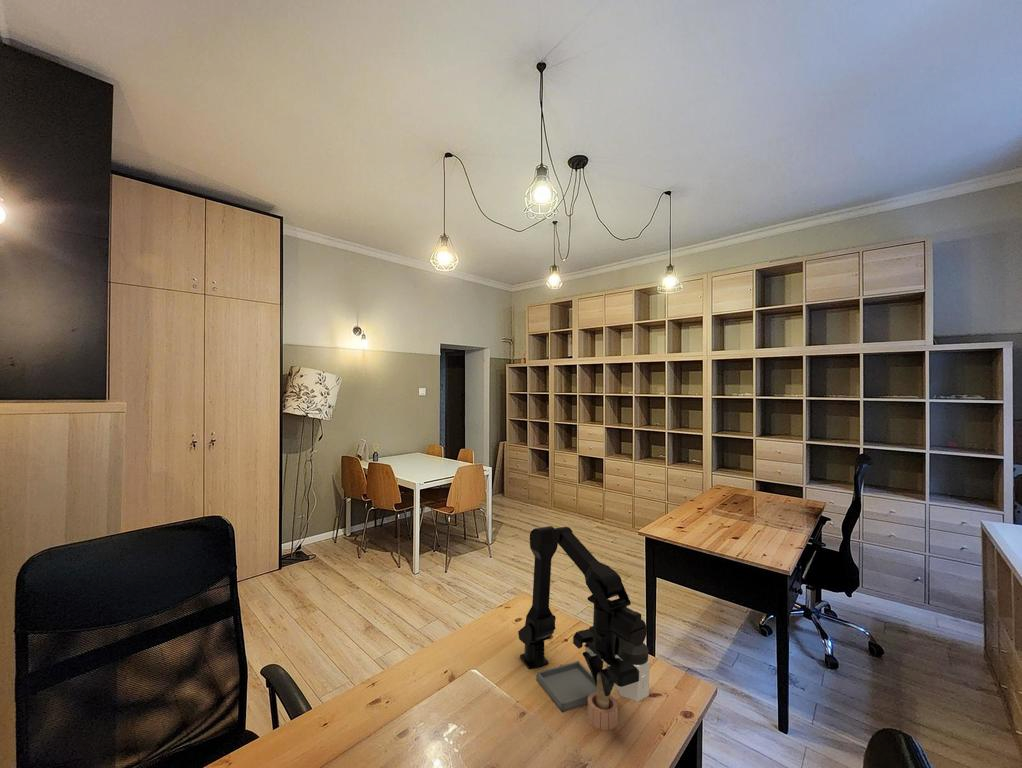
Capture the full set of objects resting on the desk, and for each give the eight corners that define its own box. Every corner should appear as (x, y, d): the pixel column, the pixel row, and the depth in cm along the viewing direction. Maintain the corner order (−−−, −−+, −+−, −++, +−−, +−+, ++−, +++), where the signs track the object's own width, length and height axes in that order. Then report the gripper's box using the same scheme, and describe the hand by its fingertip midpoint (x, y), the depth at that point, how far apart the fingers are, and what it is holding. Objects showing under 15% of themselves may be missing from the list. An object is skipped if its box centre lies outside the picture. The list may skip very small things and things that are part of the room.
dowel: (593, 716, 100) (594, 673, 100) (603, 712, 101) (604, 670, 102) (601, 724, 97) (602, 681, 98) (610, 721, 98) (612, 678, 99)
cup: (581, 715, 101) (582, 696, 101) (604, 707, 104) (604, 689, 104) (599, 736, 94) (600, 716, 95) (623, 727, 97) (623, 707, 98)
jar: (632, 707, 104) (633, 659, 105) (608, 688, 111) (609, 642, 112) (654, 695, 109) (655, 649, 110) (630, 677, 116) (631, 634, 117)
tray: (536, 681, 112) (536, 672, 112) (578, 669, 118) (578, 660, 118) (561, 714, 101) (562, 704, 101) (607, 699, 107) (607, 689, 107)
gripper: (657, 638, 95) (656, 708, 95) (606, 602, 112) (604, 661, 111) (620, 649, 91) (618, 722, 90) (572, 609, 107) (570, 671, 107)
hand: (602, 691), depth 100 cm, fingers closed on dowel, 3 cm apart
